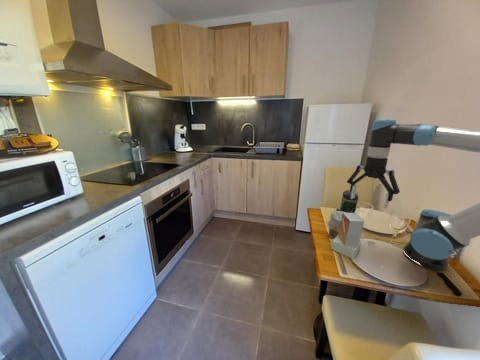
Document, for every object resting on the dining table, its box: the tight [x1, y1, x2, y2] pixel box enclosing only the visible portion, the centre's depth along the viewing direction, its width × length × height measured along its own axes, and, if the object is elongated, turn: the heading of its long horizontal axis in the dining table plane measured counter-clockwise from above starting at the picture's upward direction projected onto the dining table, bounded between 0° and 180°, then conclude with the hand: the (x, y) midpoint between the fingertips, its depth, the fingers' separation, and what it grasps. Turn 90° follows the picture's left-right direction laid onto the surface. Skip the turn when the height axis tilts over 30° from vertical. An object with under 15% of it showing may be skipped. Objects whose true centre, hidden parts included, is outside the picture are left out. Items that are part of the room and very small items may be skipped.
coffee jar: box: [339, 189, 359, 213], centre depth 121 cm, size 10×8×19 cm
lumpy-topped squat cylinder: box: [329, 210, 346, 228], centre depth 113 cm, size 10×13×9 cm
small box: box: [338, 212, 365, 246], centre depth 92 cm, size 8×6×13 cm
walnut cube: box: [327, 225, 339, 240], centre depth 105 cm, size 5×5×5 cm
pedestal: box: [330, 235, 363, 260], centre depth 95 cm, size 10×10×5 cm
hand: (368, 202), depth 91 cm, fingers open, 13 cm apart
